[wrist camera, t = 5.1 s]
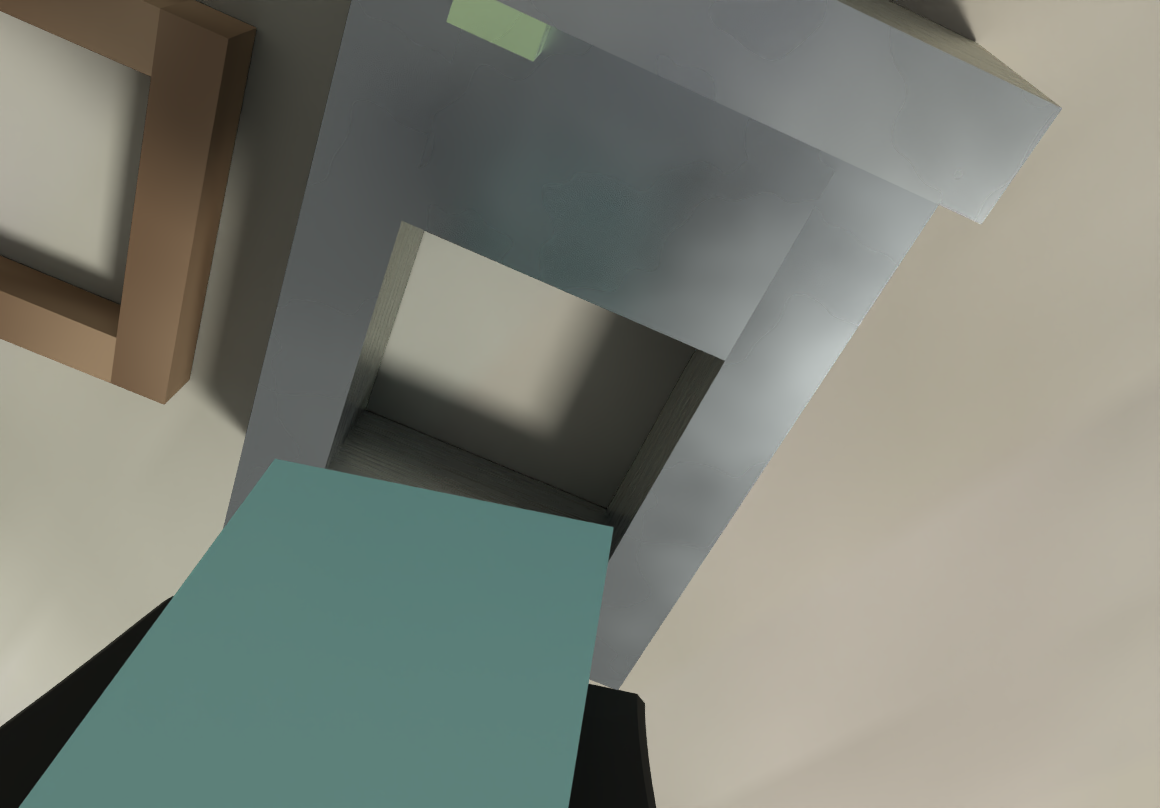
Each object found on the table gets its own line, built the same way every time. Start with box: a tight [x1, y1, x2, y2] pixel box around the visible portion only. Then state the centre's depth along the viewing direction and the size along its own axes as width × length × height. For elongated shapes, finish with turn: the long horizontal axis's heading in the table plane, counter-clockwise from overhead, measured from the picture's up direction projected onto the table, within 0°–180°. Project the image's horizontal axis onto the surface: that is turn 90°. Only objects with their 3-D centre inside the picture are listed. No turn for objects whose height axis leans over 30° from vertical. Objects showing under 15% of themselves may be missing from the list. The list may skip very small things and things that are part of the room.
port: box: [223, 0, 1062, 690], centre depth 15 cm, size 8×13×4 cm, turn 158°
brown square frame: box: [0, 0, 256, 404], centre depth 16 cm, size 7×7×1 cm
